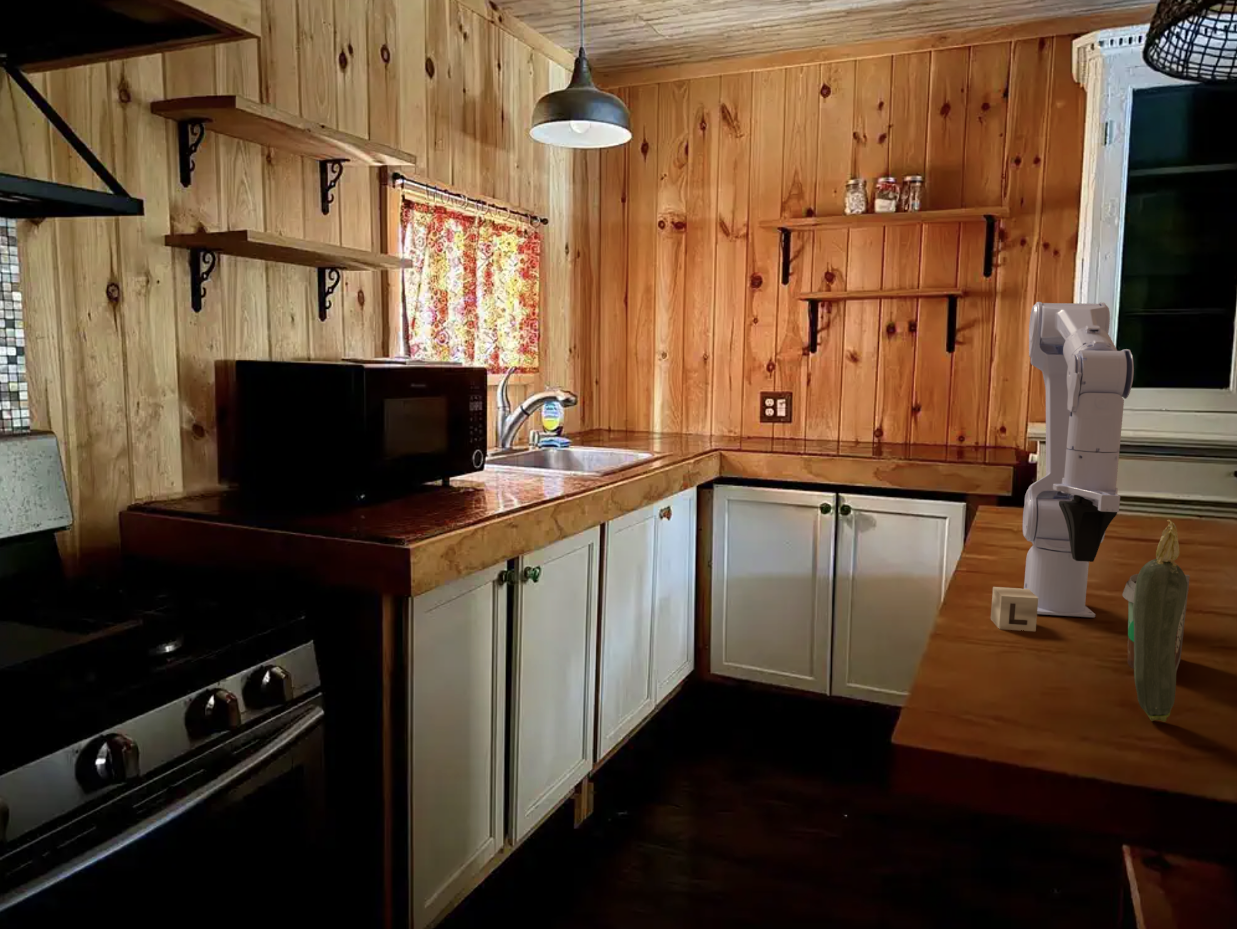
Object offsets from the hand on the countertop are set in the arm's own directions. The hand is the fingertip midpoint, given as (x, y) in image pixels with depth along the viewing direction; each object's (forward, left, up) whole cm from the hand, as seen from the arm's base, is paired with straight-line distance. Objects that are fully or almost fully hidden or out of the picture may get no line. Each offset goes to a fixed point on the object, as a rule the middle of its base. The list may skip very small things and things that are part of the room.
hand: (1083, 560), depth 115 cm
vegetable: (+25, -1, -11) cm, 27 cm away
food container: (+7, +6, -11) cm, 14 cm away
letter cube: (-6, -6, -11) cm, 14 cm away
